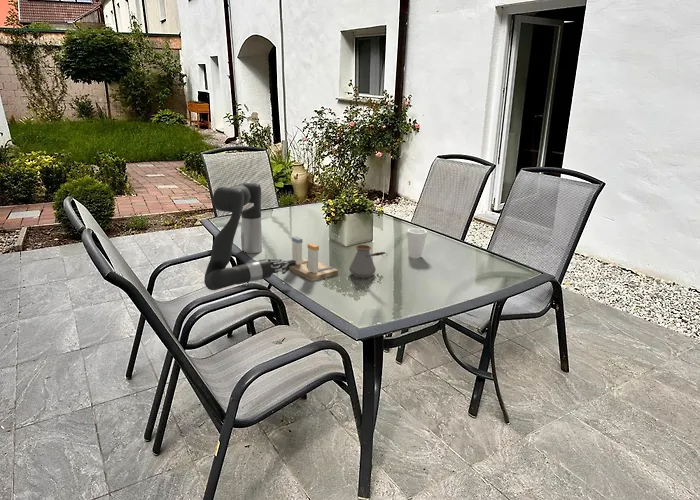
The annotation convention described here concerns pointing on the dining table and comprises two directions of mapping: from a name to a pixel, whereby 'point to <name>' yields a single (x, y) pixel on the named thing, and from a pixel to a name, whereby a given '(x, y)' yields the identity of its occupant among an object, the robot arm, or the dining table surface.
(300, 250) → the grey topped white block
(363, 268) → the coffee pot
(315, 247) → the orange topped white block
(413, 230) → the foam cup
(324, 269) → the light wood flat block
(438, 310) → the dining table surface
